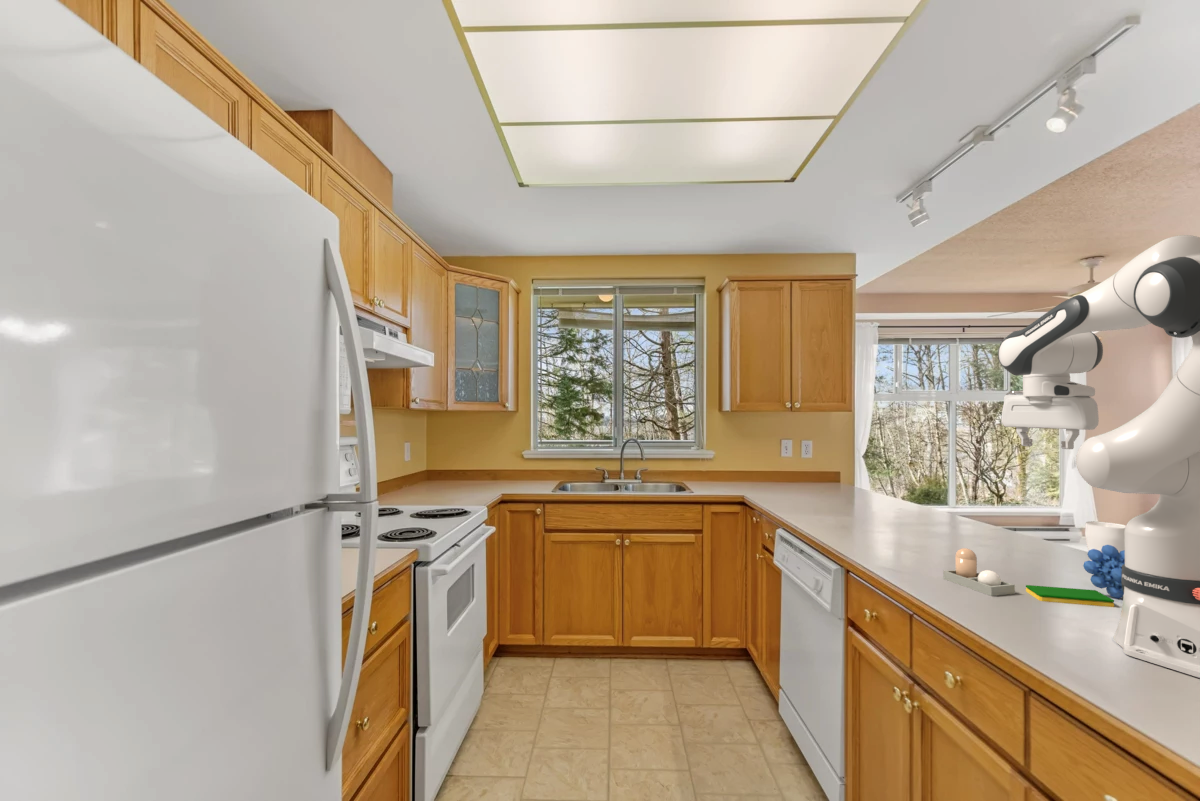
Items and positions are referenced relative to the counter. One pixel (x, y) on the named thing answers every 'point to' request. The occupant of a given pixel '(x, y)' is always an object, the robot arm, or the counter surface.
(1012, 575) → the counter surface
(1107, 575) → the grapes
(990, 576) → the white egg
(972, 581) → the carton
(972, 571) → the tan rounded cylinder
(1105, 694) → the counter surface
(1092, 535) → the cup
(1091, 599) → the dish sponge
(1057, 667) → the counter surface
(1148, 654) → the robot arm
